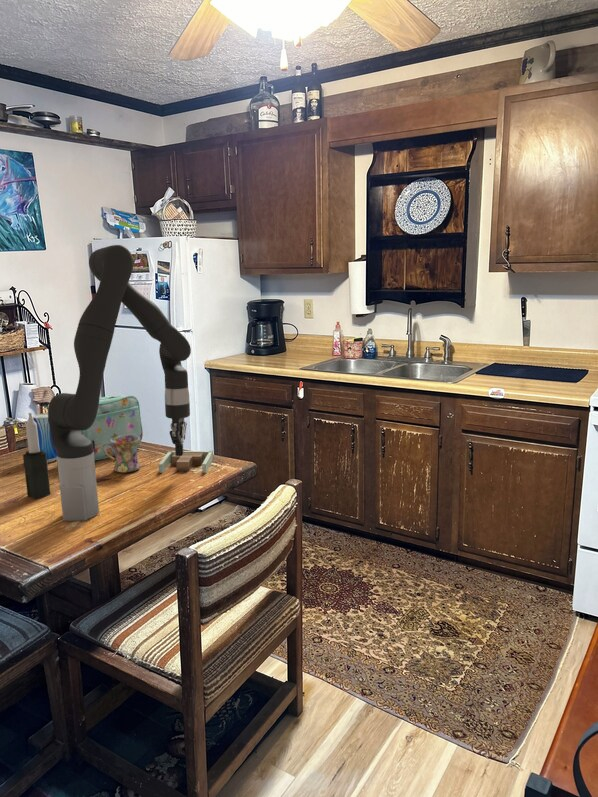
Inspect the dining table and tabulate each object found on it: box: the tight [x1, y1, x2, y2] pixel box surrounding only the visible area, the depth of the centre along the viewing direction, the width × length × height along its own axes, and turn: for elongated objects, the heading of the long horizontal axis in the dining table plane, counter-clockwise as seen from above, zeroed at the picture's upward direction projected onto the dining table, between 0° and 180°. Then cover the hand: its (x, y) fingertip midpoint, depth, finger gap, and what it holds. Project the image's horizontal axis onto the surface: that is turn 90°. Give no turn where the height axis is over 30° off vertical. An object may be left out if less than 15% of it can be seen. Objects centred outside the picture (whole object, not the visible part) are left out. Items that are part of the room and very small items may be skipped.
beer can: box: [32, 412, 57, 463], centre depth 204 cm, size 8×8×16 cm
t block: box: [171, 453, 204, 472], centre depth 198 cm, size 10×10×3 cm
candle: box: [22, 412, 51, 500], centre depth 171 cm, size 5×5×25 cm
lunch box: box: [80, 394, 144, 461], centre depth 210 cm, size 27×10×21 cm, turn 147°
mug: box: [102, 435, 141, 474], centre depth 193 cm, size 12×9×11 cm
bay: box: [158, 450, 214, 474], centre depth 198 cm, size 14×15×3 cm
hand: (179, 455), depth 186 cm, fingers closed
